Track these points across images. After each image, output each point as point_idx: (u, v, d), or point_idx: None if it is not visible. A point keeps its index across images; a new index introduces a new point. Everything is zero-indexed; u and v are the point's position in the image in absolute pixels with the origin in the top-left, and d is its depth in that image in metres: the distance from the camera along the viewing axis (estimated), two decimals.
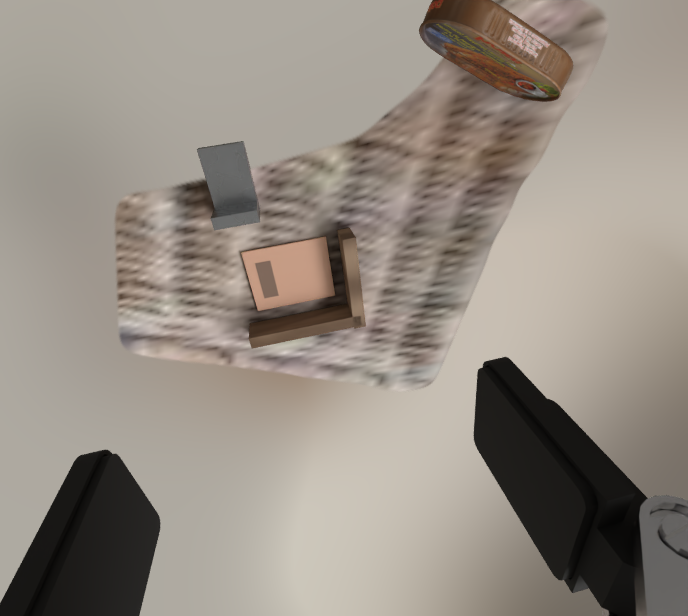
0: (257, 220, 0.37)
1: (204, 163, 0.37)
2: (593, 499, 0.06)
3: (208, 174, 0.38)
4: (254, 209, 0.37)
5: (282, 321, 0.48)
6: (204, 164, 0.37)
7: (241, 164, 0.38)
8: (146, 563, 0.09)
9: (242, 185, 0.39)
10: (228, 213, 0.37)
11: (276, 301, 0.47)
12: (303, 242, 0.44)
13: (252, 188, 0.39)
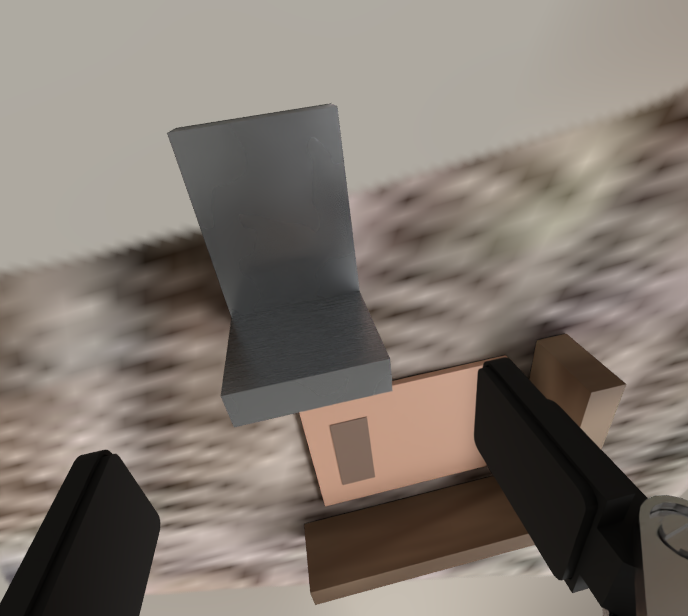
0: (386, 387, 0.11)
1: (196, 183, 0.10)
2: (593, 499, 0.06)
3: (211, 219, 0.11)
4: (376, 348, 0.10)
5: (378, 525, 0.21)
6: (196, 186, 0.10)
7: (324, 184, 0.11)
8: (146, 563, 0.09)
9: (319, 250, 0.12)
10: (284, 365, 0.10)
11: (368, 486, 0.21)
12: (453, 374, 0.17)
13: (350, 257, 0.12)
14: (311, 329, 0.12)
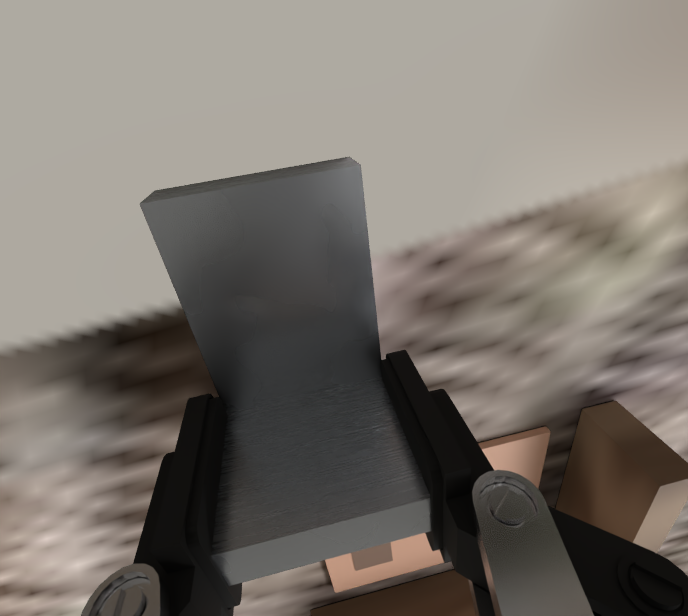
0: (427, 527, 0.08)
1: (179, 262, 0.08)
2: (438, 473, 0.07)
3: (199, 304, 0.09)
4: (413, 476, 0.08)
5: (396, 614, 0.19)
6: (179, 266, 0.08)
7: (343, 257, 0.09)
8: None
9: (334, 333, 0.10)
10: (292, 500, 0.08)
11: (384, 570, 0.18)
12: (486, 450, 0.15)
13: (372, 339, 0.10)
14: (326, 438, 0.09)
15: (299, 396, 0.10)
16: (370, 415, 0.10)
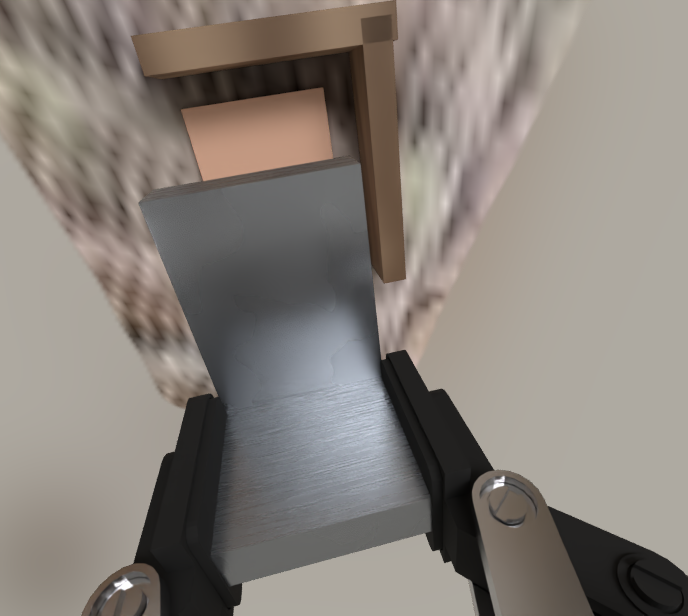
0: (427, 527, 0.08)
1: (178, 261, 0.08)
2: (438, 473, 0.07)
3: (198, 303, 0.09)
4: (413, 476, 0.08)
5: (369, 211, 0.24)
6: (178, 265, 0.08)
7: (343, 256, 0.09)
8: None
9: (334, 333, 0.10)
10: (292, 500, 0.08)
11: None
12: (199, 160, 0.22)
13: (372, 339, 0.10)
14: (326, 437, 0.09)
15: (299, 396, 0.10)
16: (370, 415, 0.10)
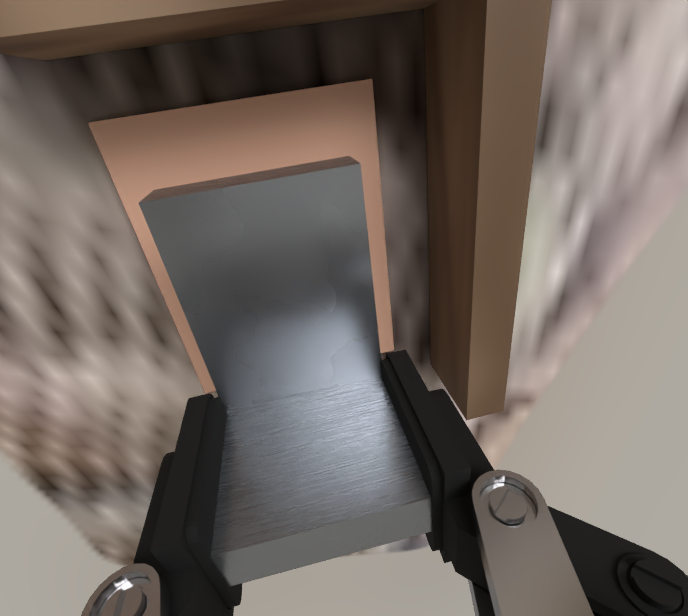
0: (427, 527, 0.08)
1: (178, 261, 0.08)
2: (438, 473, 0.07)
3: (198, 303, 0.09)
4: (413, 476, 0.08)
5: (440, 296, 0.14)
6: (178, 266, 0.08)
7: (342, 257, 0.09)
8: None
9: (334, 332, 0.10)
10: (292, 501, 0.08)
11: None
12: (134, 219, 0.12)
13: (372, 339, 0.10)
14: (326, 438, 0.09)
15: (299, 396, 0.10)
16: (370, 415, 0.10)
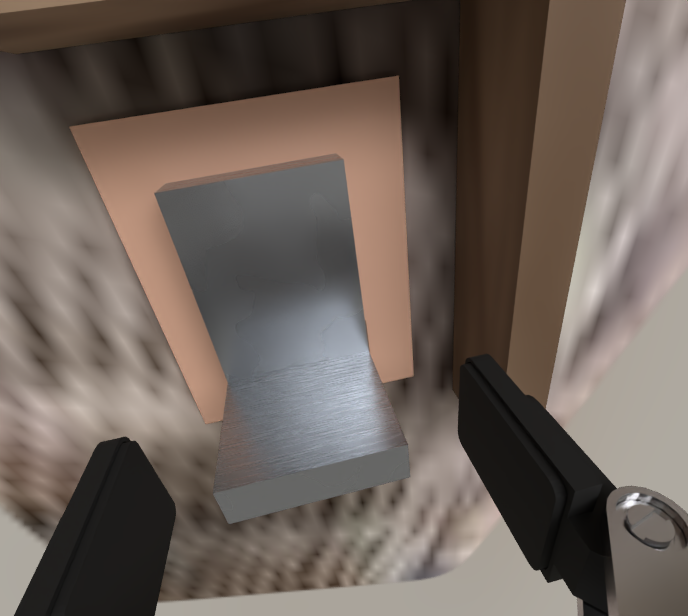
0: (403, 473, 0.09)
1: (187, 244, 0.09)
2: (562, 490, 0.06)
3: (204, 282, 0.10)
4: (390, 429, 0.09)
5: (468, 319, 0.13)
6: (187, 248, 0.09)
7: (330, 241, 0.10)
8: (164, 547, 0.09)
9: (324, 310, 0.11)
10: (286, 450, 0.09)
11: (388, 326, 0.13)
12: (125, 235, 0.10)
13: (358, 316, 0.11)
14: (316, 401, 0.10)
15: (293, 368, 0.12)
16: (356, 382, 0.11)
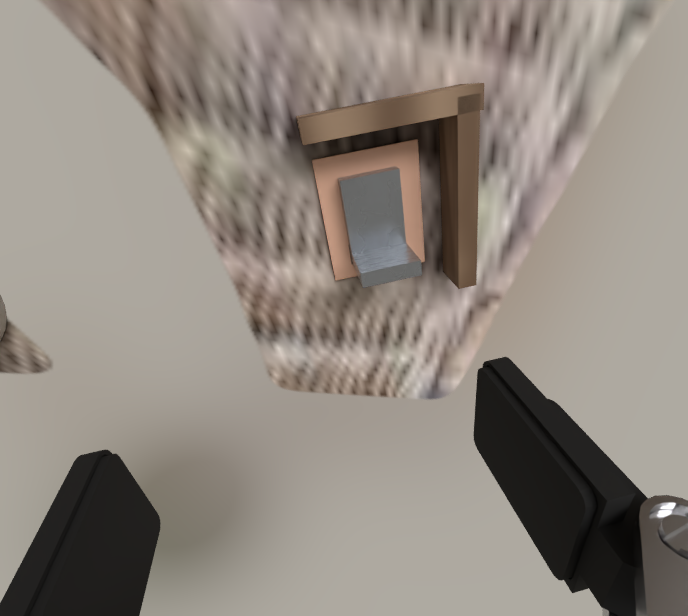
0: (419, 273, 0.28)
1: (346, 198, 0.28)
2: (593, 499, 0.06)
3: (349, 212, 0.29)
4: (415, 258, 0.28)
5: (446, 231, 0.31)
6: (346, 199, 0.28)
7: (393, 197, 0.28)
8: (146, 563, 0.09)
9: (390, 224, 0.29)
10: (380, 264, 0.28)
11: (413, 236, 0.32)
12: (321, 196, 0.29)
13: (402, 227, 0.30)
14: (388, 255, 0.29)
15: (377, 248, 0.30)
16: (402, 250, 0.29)
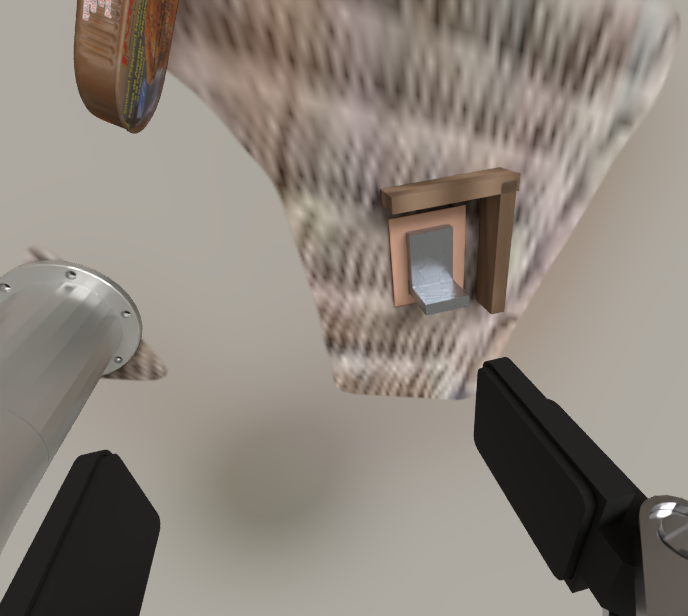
0: (467, 304, 0.37)
1: (413, 247, 0.37)
2: (593, 499, 0.06)
3: (414, 257, 0.38)
4: (464, 293, 0.37)
5: (482, 270, 0.41)
6: (413, 248, 0.37)
7: (447, 246, 0.38)
8: (146, 563, 0.09)
9: (442, 266, 0.39)
10: (439, 298, 0.37)
11: (456, 273, 0.41)
12: (392, 245, 0.38)
13: (451, 268, 0.39)
14: (442, 289, 0.38)
15: (431, 283, 0.40)
16: (451, 285, 0.39)
